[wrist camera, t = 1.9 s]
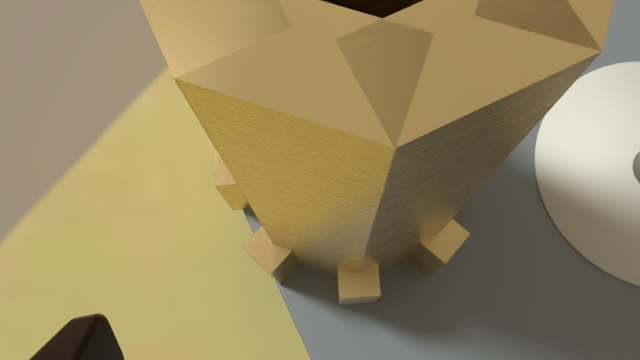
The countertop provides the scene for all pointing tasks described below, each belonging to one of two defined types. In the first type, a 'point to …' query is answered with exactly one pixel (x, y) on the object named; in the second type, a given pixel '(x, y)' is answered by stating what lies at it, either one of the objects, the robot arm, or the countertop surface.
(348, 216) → the gear
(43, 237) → the countertop surface
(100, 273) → the countertop surface
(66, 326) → the robot arm
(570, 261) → the gear board
